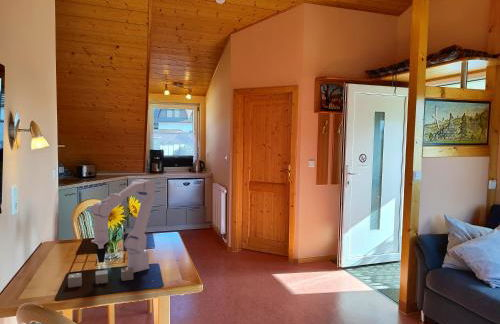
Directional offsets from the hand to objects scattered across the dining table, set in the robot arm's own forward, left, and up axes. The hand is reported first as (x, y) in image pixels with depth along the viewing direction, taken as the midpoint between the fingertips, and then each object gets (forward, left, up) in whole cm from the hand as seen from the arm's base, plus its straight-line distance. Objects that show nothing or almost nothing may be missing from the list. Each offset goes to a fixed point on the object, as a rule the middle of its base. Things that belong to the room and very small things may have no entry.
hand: (101, 260), depth 161 cm
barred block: (-10, +4, -10) cm, 14 cm away
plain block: (0, 0, -10) cm, 10 cm away
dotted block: (+10, -4, -10) cm, 14 cm away
